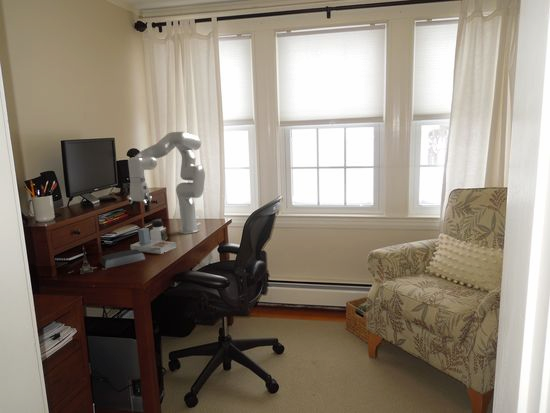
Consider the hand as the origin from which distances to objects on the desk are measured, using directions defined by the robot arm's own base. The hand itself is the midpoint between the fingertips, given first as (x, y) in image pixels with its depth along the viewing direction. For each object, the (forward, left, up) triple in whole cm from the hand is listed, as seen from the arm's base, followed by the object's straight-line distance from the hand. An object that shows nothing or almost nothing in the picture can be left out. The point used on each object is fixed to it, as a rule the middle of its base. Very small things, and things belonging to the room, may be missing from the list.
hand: (140, 211), depth 220 cm
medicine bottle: (-15, -4, -21) cm, 26 cm away
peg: (0, 0, -21) cm, 21 cm away
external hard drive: (+21, +6, -22) cm, 31 cm away
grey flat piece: (0, +6, -21) cm, 22 cm away
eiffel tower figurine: (+38, +1, -22) cm, 44 cm away
